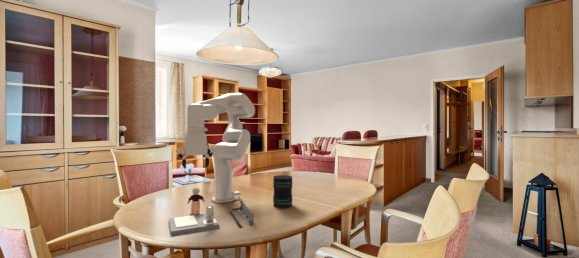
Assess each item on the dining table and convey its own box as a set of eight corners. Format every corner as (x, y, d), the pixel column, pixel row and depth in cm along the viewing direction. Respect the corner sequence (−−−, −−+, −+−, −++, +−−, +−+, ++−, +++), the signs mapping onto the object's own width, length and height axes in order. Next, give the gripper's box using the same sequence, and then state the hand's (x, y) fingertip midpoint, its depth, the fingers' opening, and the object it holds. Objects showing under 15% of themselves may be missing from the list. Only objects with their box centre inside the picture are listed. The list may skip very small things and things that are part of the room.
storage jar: (277, 209, 138) (277, 179, 138) (270, 204, 147) (270, 175, 147) (295, 207, 142) (295, 177, 142) (287, 202, 151) (287, 174, 151)
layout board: (211, 216, 128) (211, 212, 128) (219, 227, 114) (219, 223, 114) (168, 222, 120) (168, 217, 120) (171, 235, 106) (171, 230, 106)
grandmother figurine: (188, 216, 127) (188, 188, 127) (186, 214, 131) (186, 187, 131) (205, 214, 131) (205, 187, 131) (203, 211, 134) (203, 185, 134)
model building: (236, 214, 139) (249, 233, 116) (226, 205, 137) (237, 223, 114) (246, 203, 140) (261, 219, 117) (237, 194, 138) (250, 209, 115)
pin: (212, 219, 118) (212, 205, 118) (214, 222, 115) (214, 207, 115) (205, 220, 117) (205, 206, 117) (206, 223, 114) (206, 208, 114)
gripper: (213, 130, 137) (213, 165, 137) (175, 130, 130) (175, 167, 130) (216, 130, 131) (216, 167, 131) (176, 130, 123) (176, 169, 123)
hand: (195, 167), depth 130 cm, fingers open, 9 cm apart
